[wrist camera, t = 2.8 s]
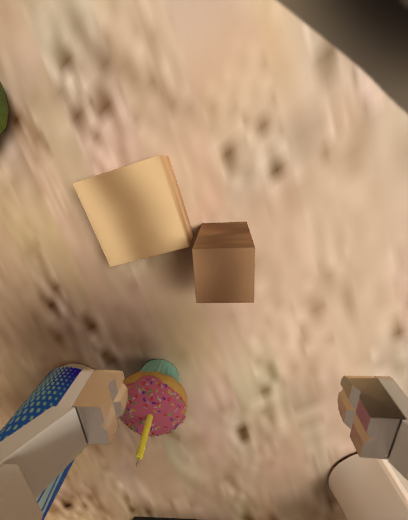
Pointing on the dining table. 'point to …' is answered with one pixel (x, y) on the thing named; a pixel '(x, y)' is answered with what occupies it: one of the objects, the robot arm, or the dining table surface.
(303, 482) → the dining table surface
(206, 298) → the walnut block
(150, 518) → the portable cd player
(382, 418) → the robot arm
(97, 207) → the oak block
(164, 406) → the cupcake
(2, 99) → the avocado
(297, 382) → the dining table surface
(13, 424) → the beer can
